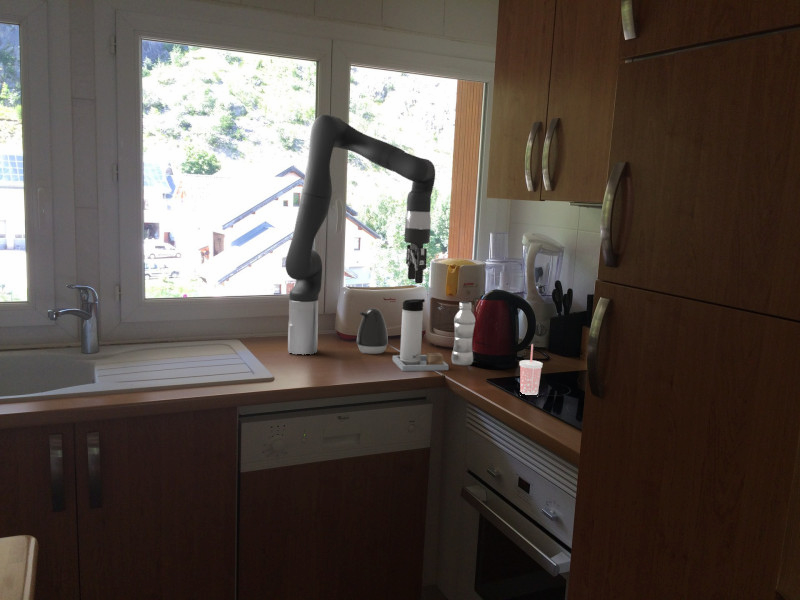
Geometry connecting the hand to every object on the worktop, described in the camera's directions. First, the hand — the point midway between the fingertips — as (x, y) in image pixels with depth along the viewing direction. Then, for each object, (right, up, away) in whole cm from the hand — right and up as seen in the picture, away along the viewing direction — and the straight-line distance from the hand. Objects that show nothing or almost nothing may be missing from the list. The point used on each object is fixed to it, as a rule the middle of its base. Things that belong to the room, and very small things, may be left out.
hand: (414, 281), depth 201 cm
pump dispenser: (-14, -24, +19) cm, 33 cm away
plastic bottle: (+15, -26, +7) cm, 31 cm away
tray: (+1, -26, +2) cm, 26 cm away
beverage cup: (+30, -31, -22) cm, 48 cm away
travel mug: (-1, -25, +4) cm, 26 cm away
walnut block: (+6, -26, 0) cm, 27 cm away
